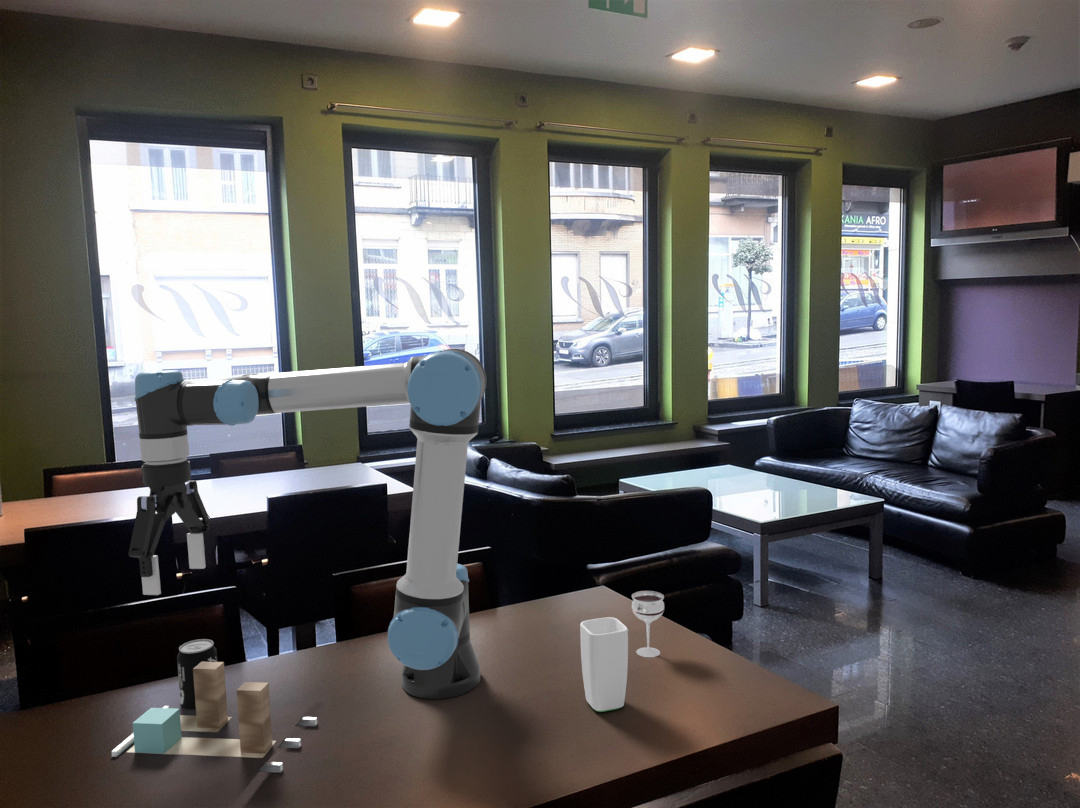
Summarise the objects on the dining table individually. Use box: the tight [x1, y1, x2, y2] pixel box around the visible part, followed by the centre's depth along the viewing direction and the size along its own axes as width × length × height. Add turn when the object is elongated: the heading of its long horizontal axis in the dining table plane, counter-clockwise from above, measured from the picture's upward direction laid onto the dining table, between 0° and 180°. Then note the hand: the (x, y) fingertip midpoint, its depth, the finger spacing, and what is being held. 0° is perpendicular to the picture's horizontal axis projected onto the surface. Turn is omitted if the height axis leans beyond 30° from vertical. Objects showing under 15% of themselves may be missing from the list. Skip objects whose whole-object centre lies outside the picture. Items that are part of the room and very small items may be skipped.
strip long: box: [126, 681, 277, 759], centre depth 127 cm, size 23×5×12 cm, turn 84°
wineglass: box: [631, 590, 665, 658], centre depth 163 cm, size 7×7×12 cm
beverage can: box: [176, 638, 218, 711], centre depth 143 cm, size 7×7×12 cm
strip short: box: [180, 661, 233, 733], centre depth 135 cm, size 12×5×12 cm, turn 84°
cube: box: [132, 707, 183, 755], centre depth 128 cm, size 5×5×5 cm
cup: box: [579, 616, 629, 713], centre depth 141 cm, size 7×7×15 cm
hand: (176, 580), depth 137 cm, fingers open, 13 cm apart
